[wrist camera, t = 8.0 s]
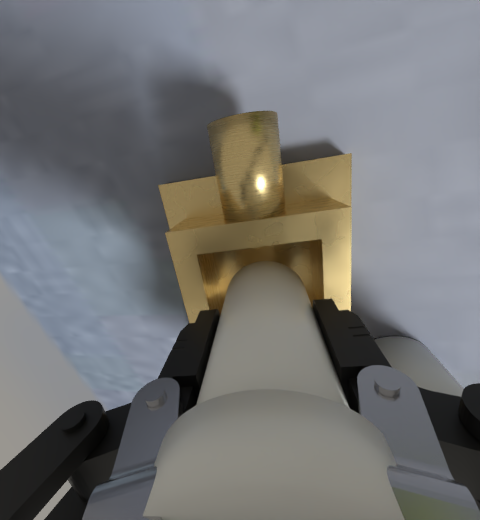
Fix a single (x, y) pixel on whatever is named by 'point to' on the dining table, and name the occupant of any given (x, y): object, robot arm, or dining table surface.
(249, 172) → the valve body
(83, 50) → the dining table surface
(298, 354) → the white mushroom shaped knob
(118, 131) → the dining table surface
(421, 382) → the cylinder
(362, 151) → the dining table surface
